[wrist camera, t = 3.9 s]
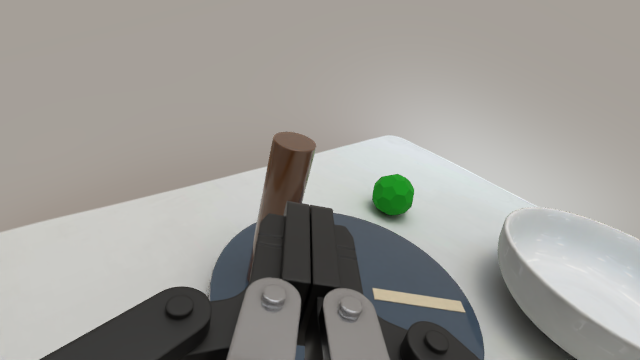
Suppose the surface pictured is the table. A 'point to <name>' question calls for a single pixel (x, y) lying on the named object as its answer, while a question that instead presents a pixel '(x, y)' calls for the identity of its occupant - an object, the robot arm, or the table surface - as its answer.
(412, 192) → the polyhedron
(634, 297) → the serving bowl
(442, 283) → the peg stand
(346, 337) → the robot arm
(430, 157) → the table surface
